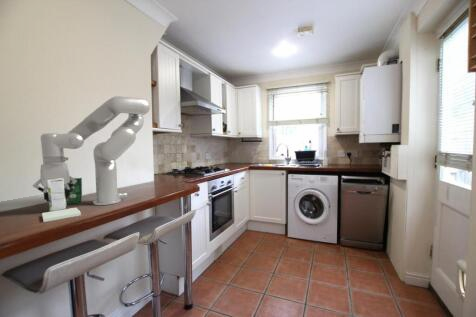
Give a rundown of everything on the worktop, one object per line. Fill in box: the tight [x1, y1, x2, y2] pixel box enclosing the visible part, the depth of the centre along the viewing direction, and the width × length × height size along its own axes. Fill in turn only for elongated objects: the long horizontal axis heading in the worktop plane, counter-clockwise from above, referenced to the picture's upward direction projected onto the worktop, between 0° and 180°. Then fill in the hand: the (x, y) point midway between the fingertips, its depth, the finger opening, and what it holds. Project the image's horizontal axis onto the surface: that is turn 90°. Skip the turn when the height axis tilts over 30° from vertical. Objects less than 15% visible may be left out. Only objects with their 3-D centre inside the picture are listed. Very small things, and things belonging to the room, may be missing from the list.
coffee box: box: [65, 177, 83, 205], centre depth 115 cm, size 8×3×13 cm, turn 117°
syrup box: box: [47, 178, 67, 212], centre depth 101 cm, size 6×6×14 cm
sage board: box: [41, 207, 82, 223], centre depth 94 cm, size 12×11×1 cm
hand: (57, 199), depth 101 cm, fingers closed on syrup box, 6 cm apart
